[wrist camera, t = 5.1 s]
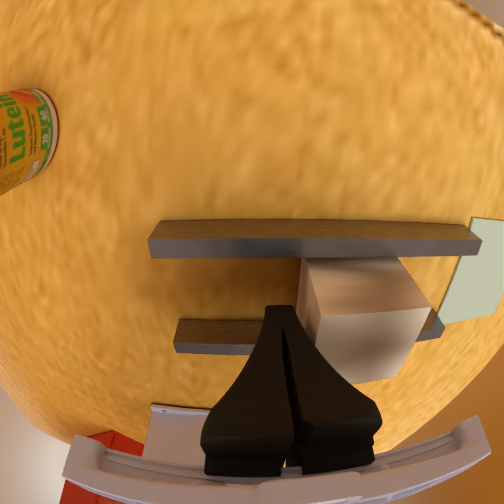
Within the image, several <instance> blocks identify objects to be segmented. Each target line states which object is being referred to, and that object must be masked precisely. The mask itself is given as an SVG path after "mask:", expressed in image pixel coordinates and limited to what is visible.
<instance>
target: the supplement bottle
mask: <svg viewBox="0 0 504 504" xmlns="http://www.w3.org/2000/svg"><path fill="white" fill-rule="evenodd" d="M57 135H58V124H57V116H56V112H55V109H54V107H53V104H52V103H51V101H50V99H49V98H48V97H47V96H46V95H45V94H44V93H43V92H41V91H39V90H36V89H22V90H14V91H8V92H2V93H0V196H1V195H3V194H5V193H6V192H8V191H10V190H11V189H13V188H15V187H17V186H18V185H20V184H22V183H24V182H26V181H28V180H29V179H31V178H33V177H34V176H36V175H38V174H39V173H41V172H42V171H43V170H44V169H45V168H46V166H47V165H48V163H49V162H50V160H51V158H52V155H53V153H54V150H55V147H56V142H57Z"/></svg>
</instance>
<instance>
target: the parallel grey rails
mask: <svg viewBox="0 0 504 504" xmlns="http://www.w3.org/2000/svg"><path fill="white" fill-rule="evenodd" d="M148 244H149V249H150V253H151V258H335V257H420V256H477V255H478V253H479V250H480V247H481V244H482V240H481V239H480V238H479V237H478V236H477V235H476V234H474V233H473V232H472V231H471V230H470V229H468V228H467V227H466V226H465V225H451V224H434V223H414V222H391V221H361V220H311V219H231V220H181V221H160V222H159V223H158V225H157V226H156V228H155V229H154V231H153V232H152V234H151V235H150V237H149V238H148ZM262 324H263V321H234V320H191V319H179V322H178V326H177V329H176V333H175V336H174V340H173V343H174V347H175V350H176V352H177V353H193V354H216V355H251V353H252V351H253V349H254V346H255V344H256V342H257V339H258V337H259V334H260V331H261V328H262ZM444 329H445V326H444V324H443V323H442V321H441V320H440V318H439V316H438V315H437V313H436V312H435V310H434V309H432V310H430V312H429V314H428V317H427V319H426V321H425V323H424V325H423V327H422V329H421V331H420V333H419V335H418V337H417V339H416V341H415V342H419V341H425V340H430V339H435V338H440V337H441V335H442V333H443V331H444Z"/></svg>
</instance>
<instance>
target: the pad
mask: <svg viewBox="0 0 504 504" xmlns="http://www.w3.org/2000/svg"><path fill="white" fill-rule="evenodd" d="M469 229H470V230H471V231H472V232H473V233H474V234H476V235H477V236H478V237H479V238H480V239H481V240H482V244H481V247H480V250H479V253H478V255H477V256H460V257H459V260H458V263H457V266H456V268H455V271H454V274H453V276H452V279H451V281H450V284H449V286H448V289H447V291H446V293H445V296H444V298H443V300H442V303H441V305H440V307H439V309H438V311H437V315H438V316H439V318H440V320H441V321H442V323H443V324H447V323H453V322H458V321H463V320H468V319H473V318H478V317H483V316H487V315H492V314H493V313H494V311H495V309H496V307H497V306H498V304H499V302H500V300H501V298H502V296H503V294H504V221H503V220H495V219H485V218H476V217H472V219H471V222H470V226H469Z"/></svg>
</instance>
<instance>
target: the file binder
mask: <svg viewBox="0 0 504 504" xmlns="http://www.w3.org/2000/svg"><path fill="white" fill-rule="evenodd" d="M88 438H91V439H94V440H96V441H98V442H100V443H102V444H103V445H104V446H105V447H106V448H108V449H112V450H116V451H119V452H123V453H127V454H132V455H136V456H141V457H142V454H143V450H144V445H143V444H140V443H138V442H136V441H134V440H132V439H130V438H128V437H126V436H124V435H122V434H120V433H118V432H116V431H114V430H113V431H109V432H105V433H101V434H97V435H93V436H89V437H88ZM59 504H126V503H123V502H119V501H116V500H113V499H110V498H107V497H104V496H101V495H99V494H96V493H93V492H90V491H88V490H86V489H84V488H82V487H80V486H78V485H76V484H74V483H72V482H70V481H69V480H67V479H66V480H65V484H64V488H63V492H62V495H61V499H60V503H59Z"/></svg>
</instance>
